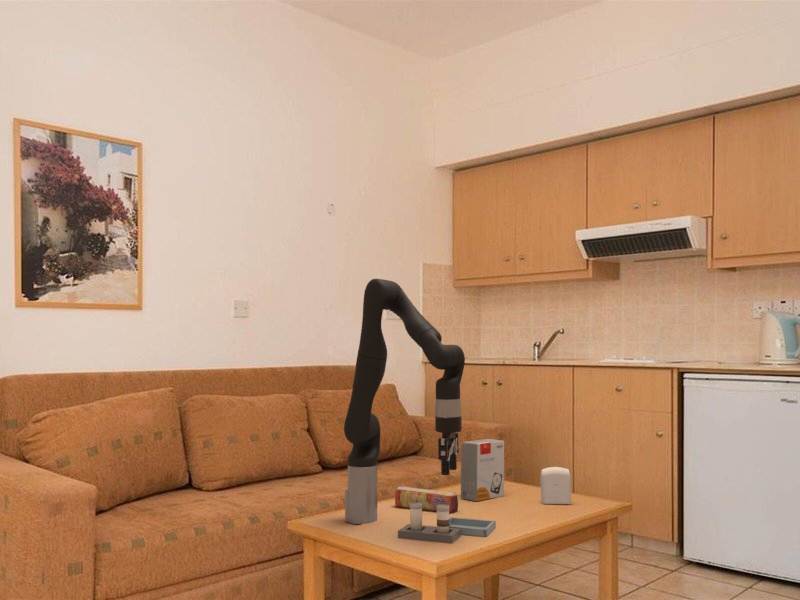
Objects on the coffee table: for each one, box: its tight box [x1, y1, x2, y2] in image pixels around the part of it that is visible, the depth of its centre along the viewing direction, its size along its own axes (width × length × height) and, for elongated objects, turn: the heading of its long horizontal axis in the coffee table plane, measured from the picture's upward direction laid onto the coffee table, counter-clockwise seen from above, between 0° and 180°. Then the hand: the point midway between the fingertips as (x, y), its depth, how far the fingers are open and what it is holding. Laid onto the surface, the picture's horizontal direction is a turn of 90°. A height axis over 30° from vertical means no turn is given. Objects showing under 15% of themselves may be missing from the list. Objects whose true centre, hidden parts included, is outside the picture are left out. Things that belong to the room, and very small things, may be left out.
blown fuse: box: [436, 504, 450, 534], centre depth 208 cm, size 4×4×9 cm
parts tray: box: [449, 516, 497, 538], centre depth 216 cm, size 14×11×2 cm
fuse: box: [409, 502, 423, 531], centre depth 211 cm, size 4×4×9 cm
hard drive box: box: [460, 438, 505, 502], centre depth 264 cm, size 16×8×20 cm, turn 132°
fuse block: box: [397, 523, 462, 544], centre depth 209 cm, size 16×8×2 cm, turn 69°
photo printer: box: [540, 466, 572, 505], centre depth 254 cm, size 10×4×12 cm, turn 84°
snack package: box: [394, 485, 459, 514], centre depth 246 cm, size 21×7×7 cm, turn 62°
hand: (449, 472), depth 210 cm, fingers open, 8 cm apart
